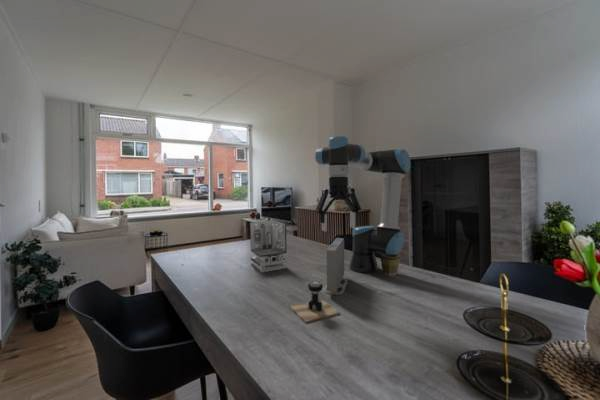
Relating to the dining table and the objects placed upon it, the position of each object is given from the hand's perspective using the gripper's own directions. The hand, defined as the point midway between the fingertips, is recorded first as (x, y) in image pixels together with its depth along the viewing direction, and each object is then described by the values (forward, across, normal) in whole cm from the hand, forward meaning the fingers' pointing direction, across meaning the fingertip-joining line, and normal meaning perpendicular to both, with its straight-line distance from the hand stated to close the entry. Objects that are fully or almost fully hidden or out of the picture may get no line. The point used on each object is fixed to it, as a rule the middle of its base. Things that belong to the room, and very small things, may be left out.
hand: (338, 229), depth 111 cm
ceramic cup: (+29, +41, +15) cm, 52 cm away
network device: (+29, +6, +12) cm, 32 cm away
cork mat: (+29, -14, -4) cm, 32 cm away
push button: (+28, -14, -4) cm, 32 cm away
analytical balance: (+29, -11, +55) cm, 63 cm away
